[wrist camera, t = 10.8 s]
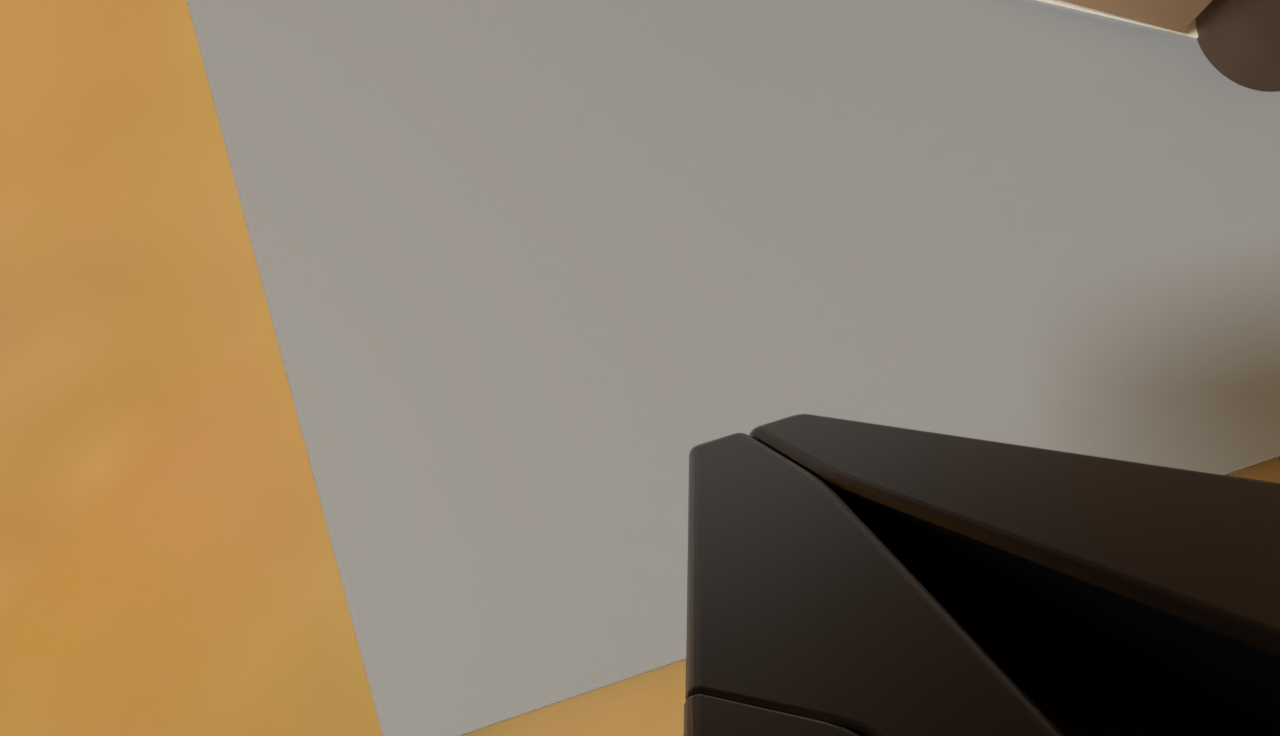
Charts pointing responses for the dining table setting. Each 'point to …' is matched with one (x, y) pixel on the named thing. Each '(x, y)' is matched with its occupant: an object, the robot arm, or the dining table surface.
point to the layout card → (714, 280)
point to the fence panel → (1152, 10)
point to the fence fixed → (1243, 41)
